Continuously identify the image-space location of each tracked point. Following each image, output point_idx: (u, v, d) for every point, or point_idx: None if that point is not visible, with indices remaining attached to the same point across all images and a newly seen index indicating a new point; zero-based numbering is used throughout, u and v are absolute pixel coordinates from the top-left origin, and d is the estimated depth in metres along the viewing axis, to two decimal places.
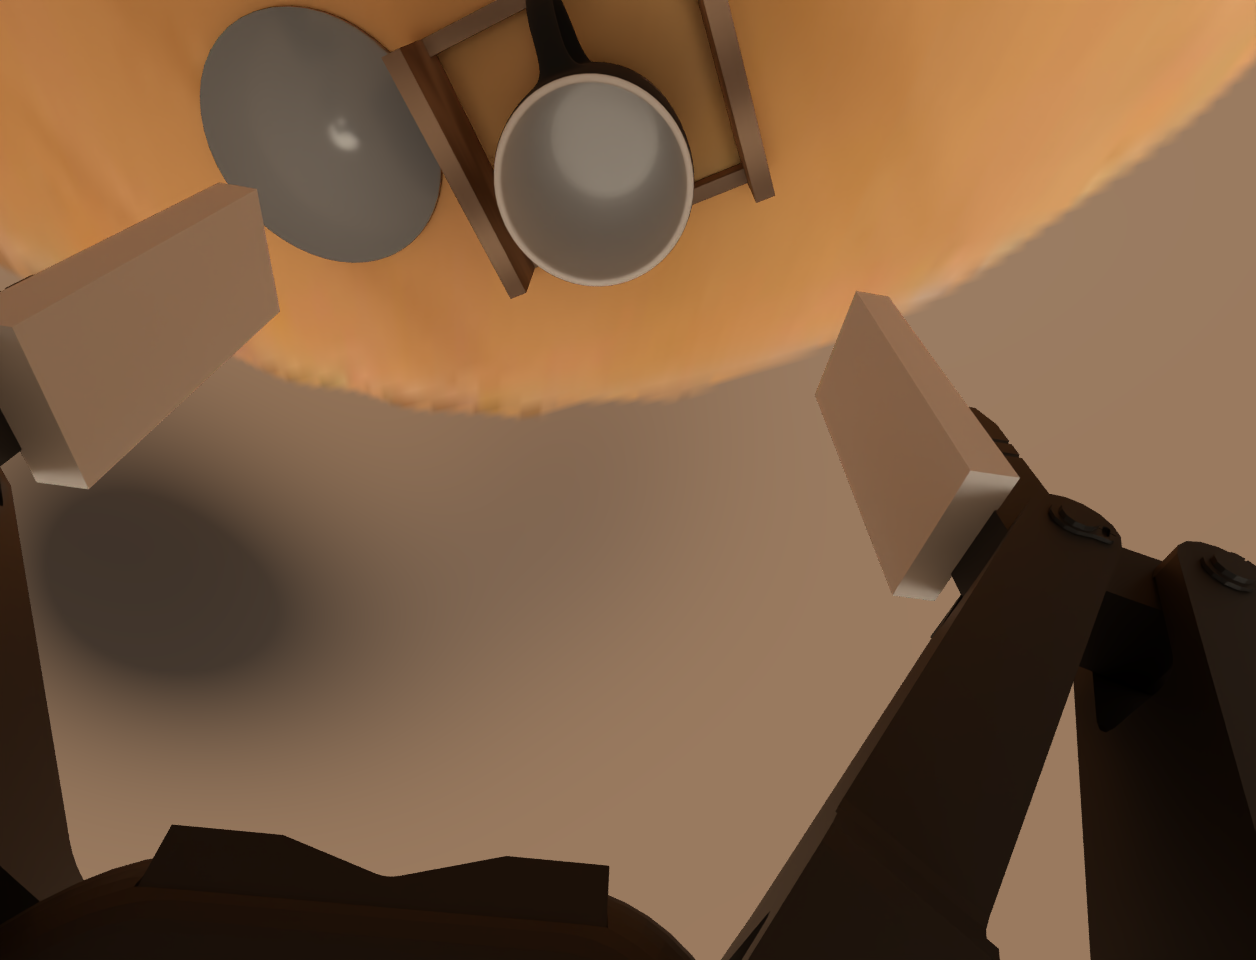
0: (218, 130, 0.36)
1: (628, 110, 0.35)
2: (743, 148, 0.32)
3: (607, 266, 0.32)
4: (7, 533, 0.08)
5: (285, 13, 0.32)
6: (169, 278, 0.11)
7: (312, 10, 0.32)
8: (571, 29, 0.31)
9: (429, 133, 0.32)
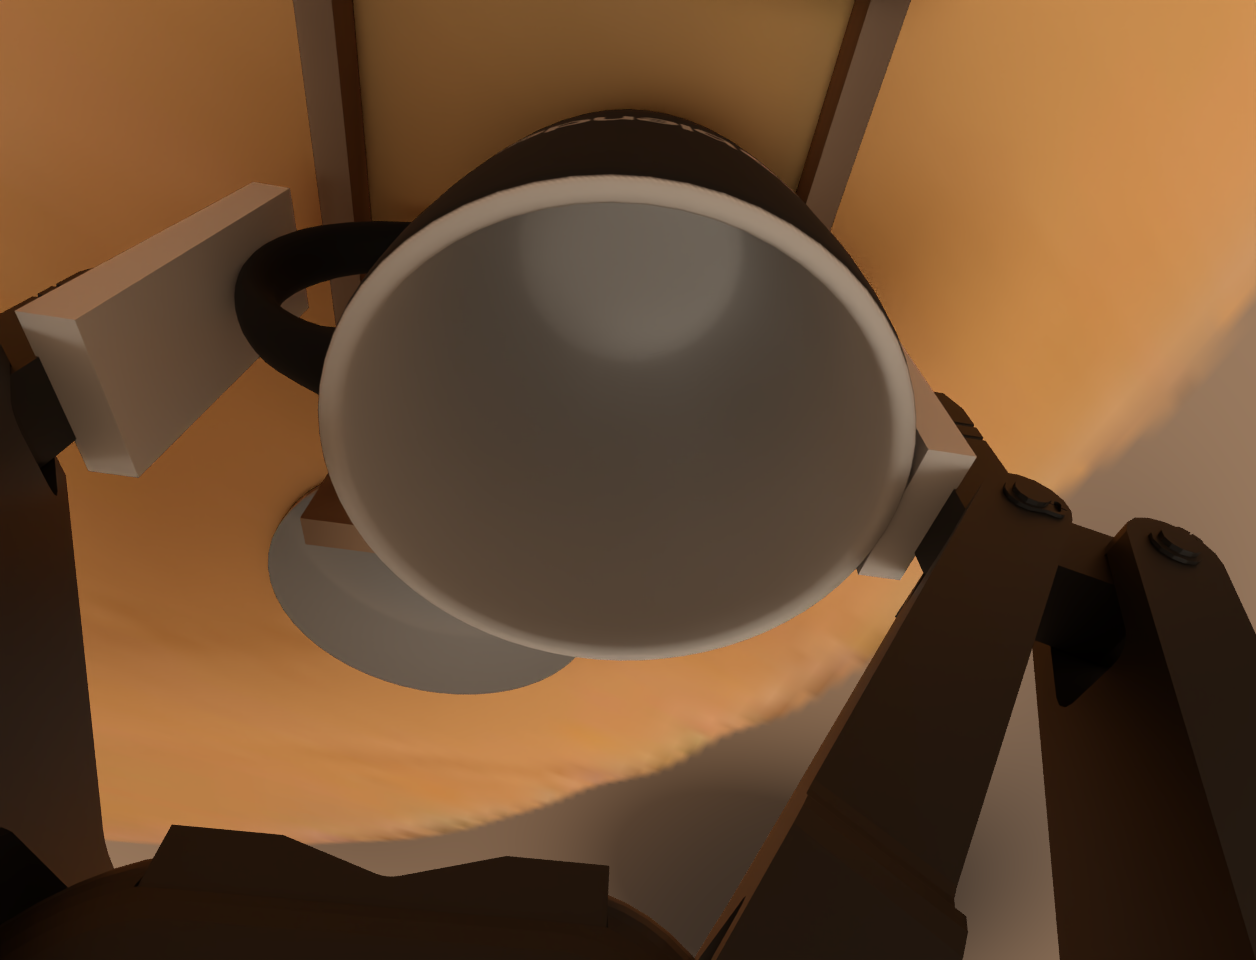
0: (372, 665, 0.29)
1: None
2: None
3: (816, 502, 0.12)
4: (59, 522, 0.08)
5: (278, 544, 0.24)
6: (211, 274, 0.11)
7: (285, 517, 0.24)
8: (396, 228, 0.15)
9: None
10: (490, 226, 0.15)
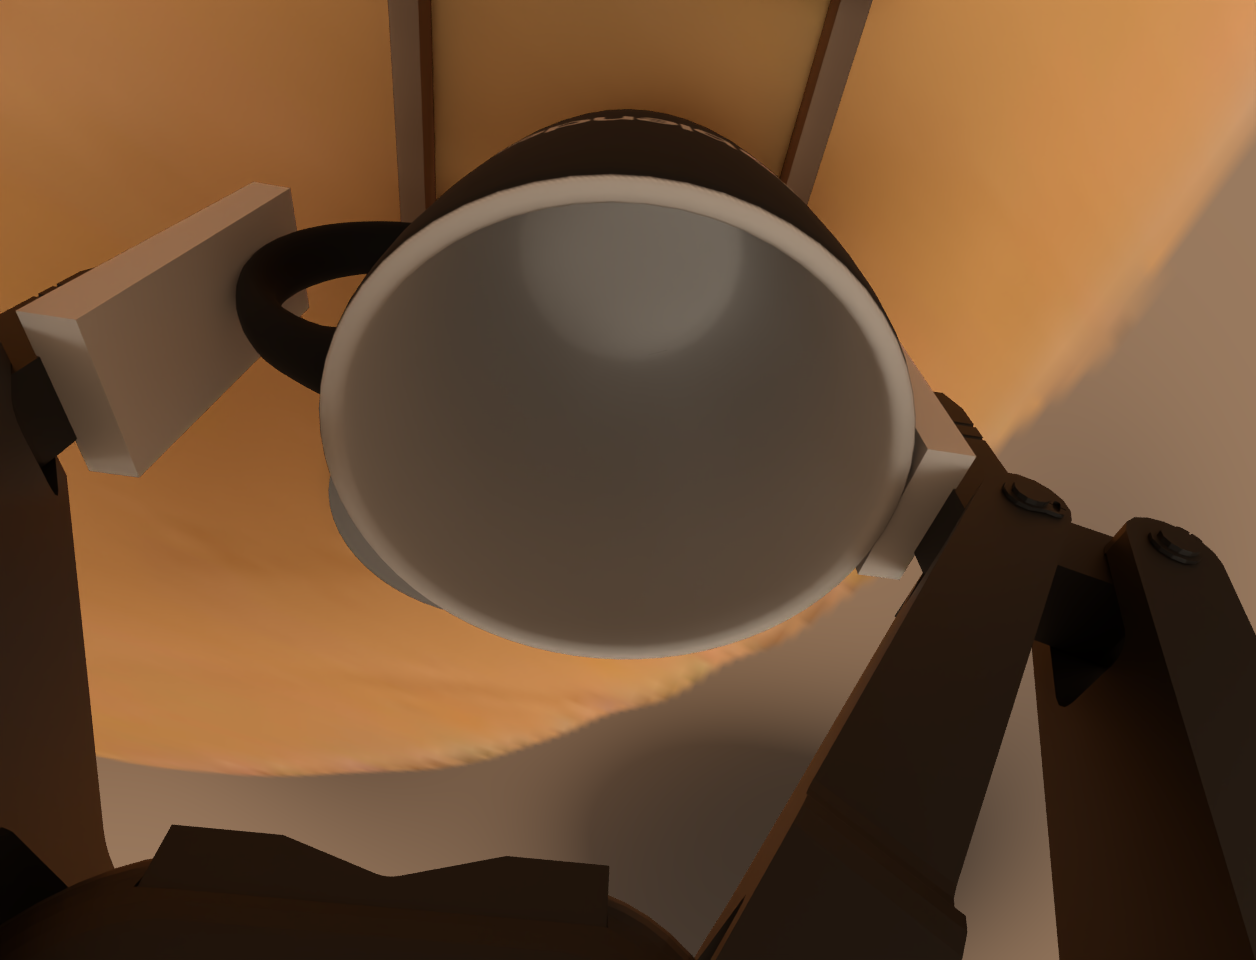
0: None
1: None
2: None
3: (816, 501, 0.12)
4: (60, 522, 0.08)
5: None
6: (211, 274, 0.11)
7: None
8: (397, 228, 0.15)
9: None
10: (490, 226, 0.15)
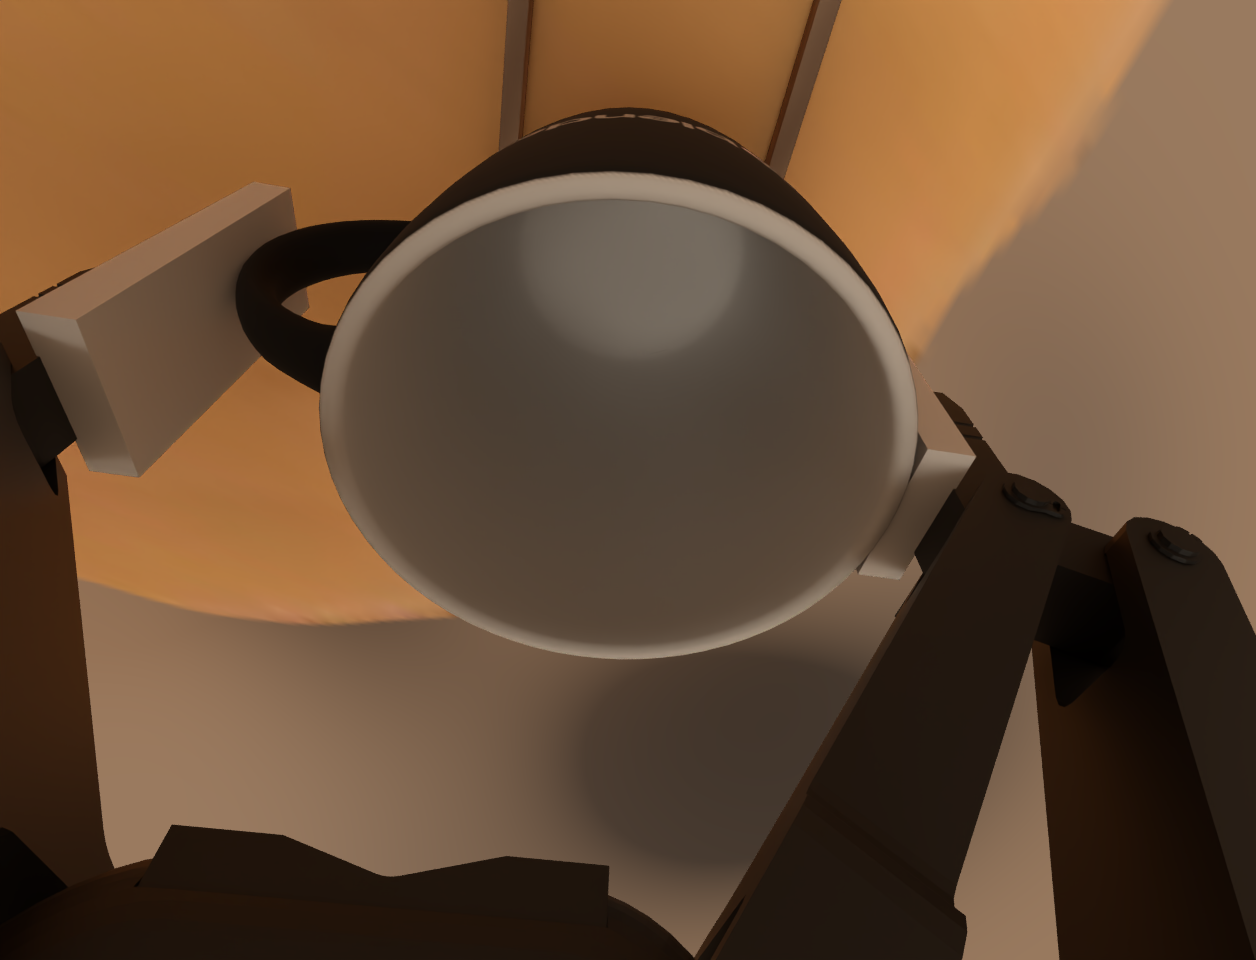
0: None
1: None
2: None
3: (818, 501, 0.12)
4: (60, 522, 0.08)
5: None
6: (211, 274, 0.11)
7: None
8: (397, 226, 0.15)
9: None
10: (491, 225, 0.15)
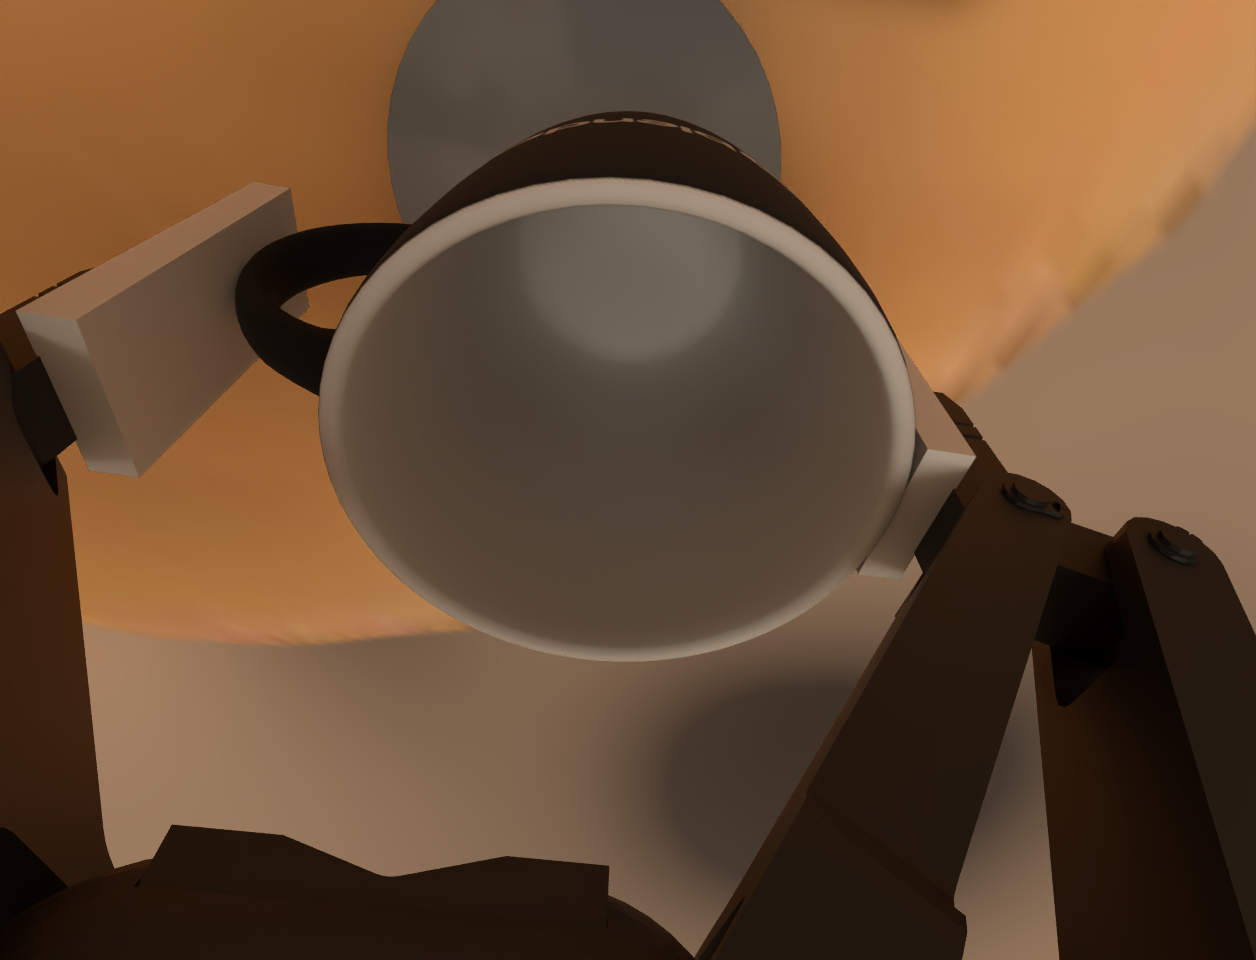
0: None
1: None
2: None
3: (816, 503, 0.12)
4: (60, 522, 0.08)
5: (405, 78, 0.20)
6: (212, 274, 0.11)
7: (418, 29, 0.19)
8: (396, 229, 0.15)
9: None
10: (490, 228, 0.15)
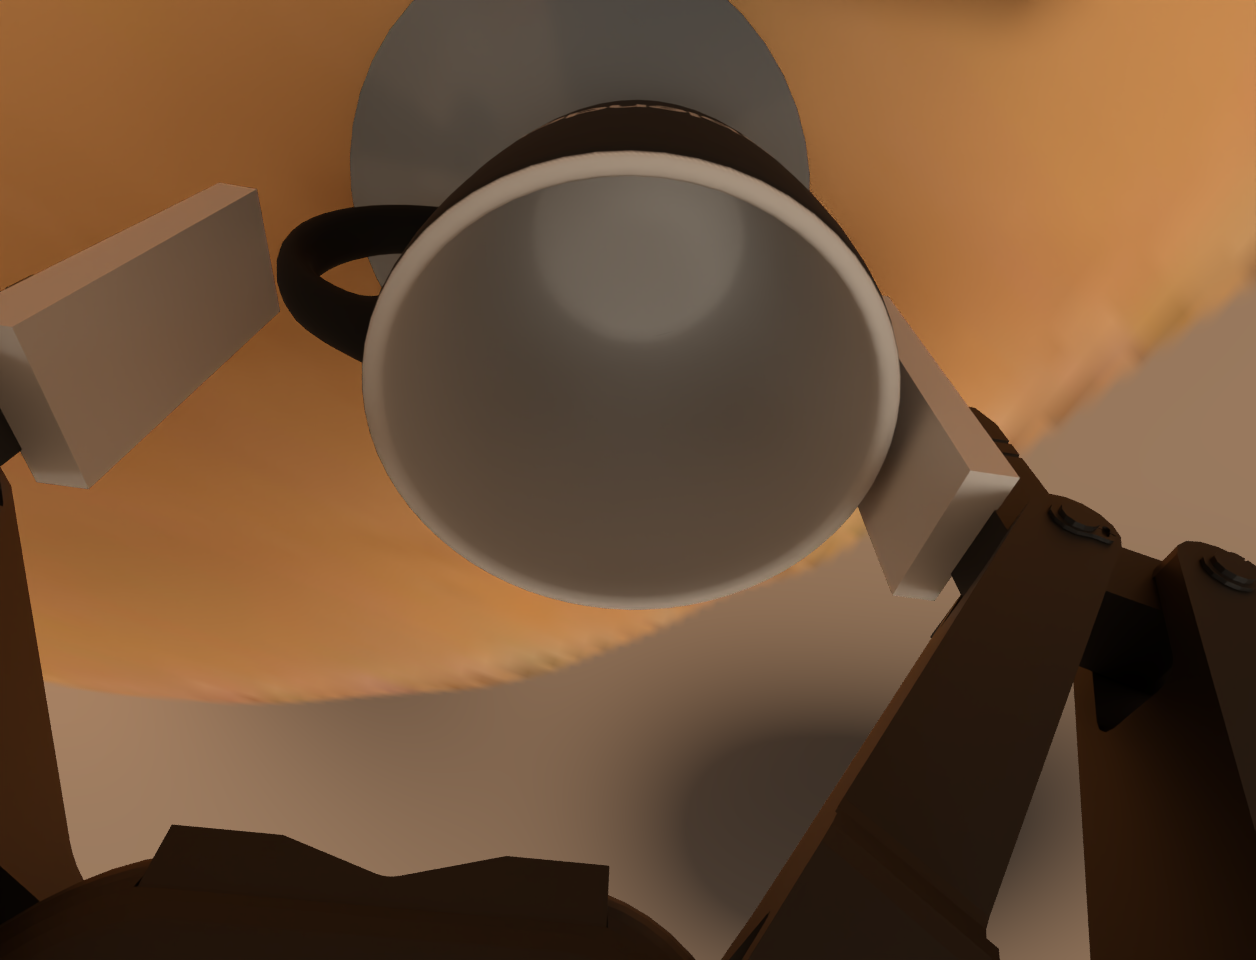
0: None
1: None
2: None
3: (811, 463, 0.13)
4: (7, 533, 0.08)
5: (369, 103, 0.17)
6: (169, 278, 0.11)
7: (382, 46, 0.16)
8: (420, 211, 0.16)
9: None
10: (507, 210, 0.16)
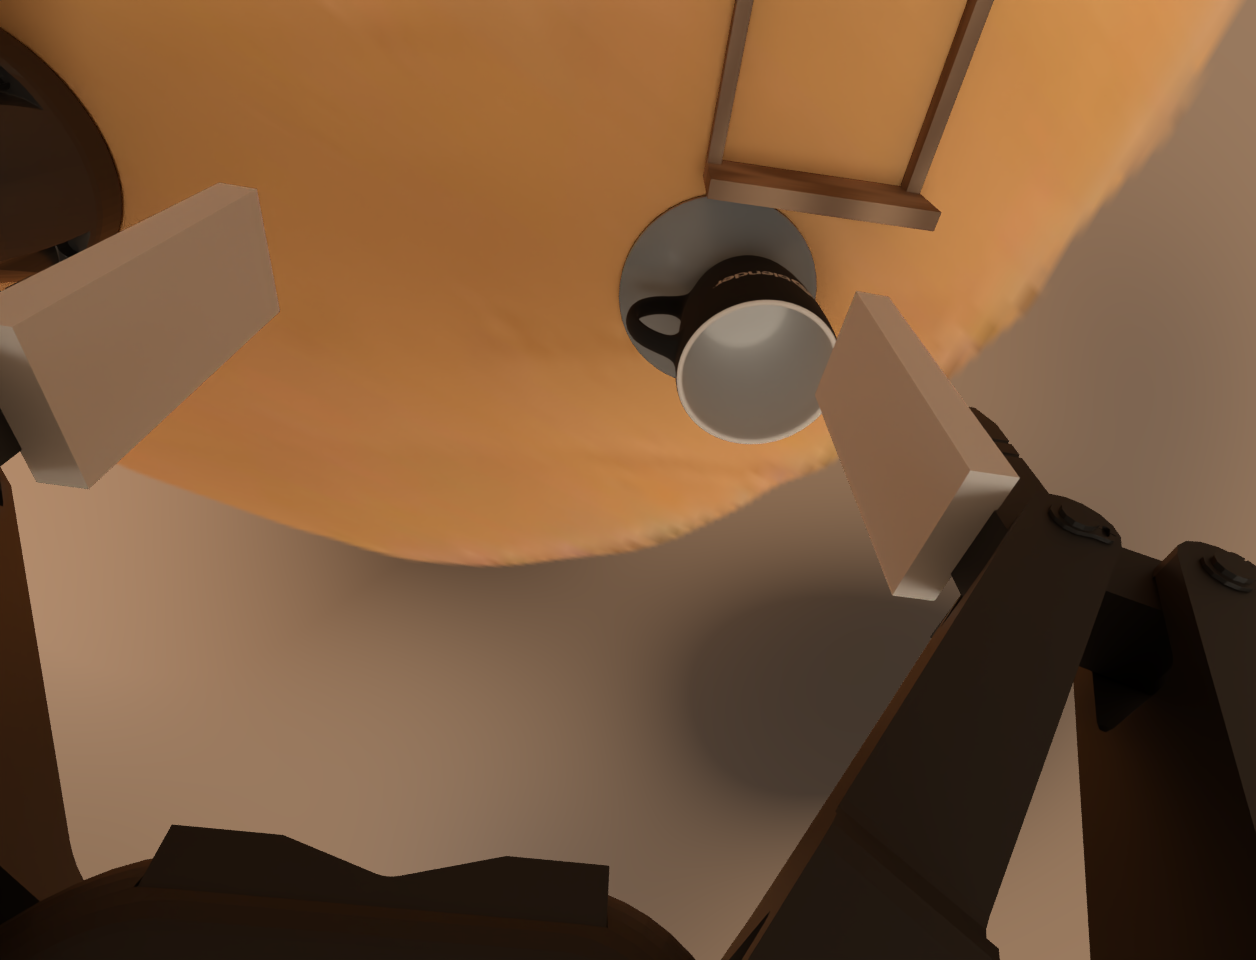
0: (661, 358, 0.46)
1: None
2: None
3: None
4: (7, 533, 0.08)
5: (634, 253, 0.41)
6: (169, 278, 0.11)
7: (643, 233, 0.41)
8: (662, 298, 0.40)
9: (772, 200, 0.35)
10: None
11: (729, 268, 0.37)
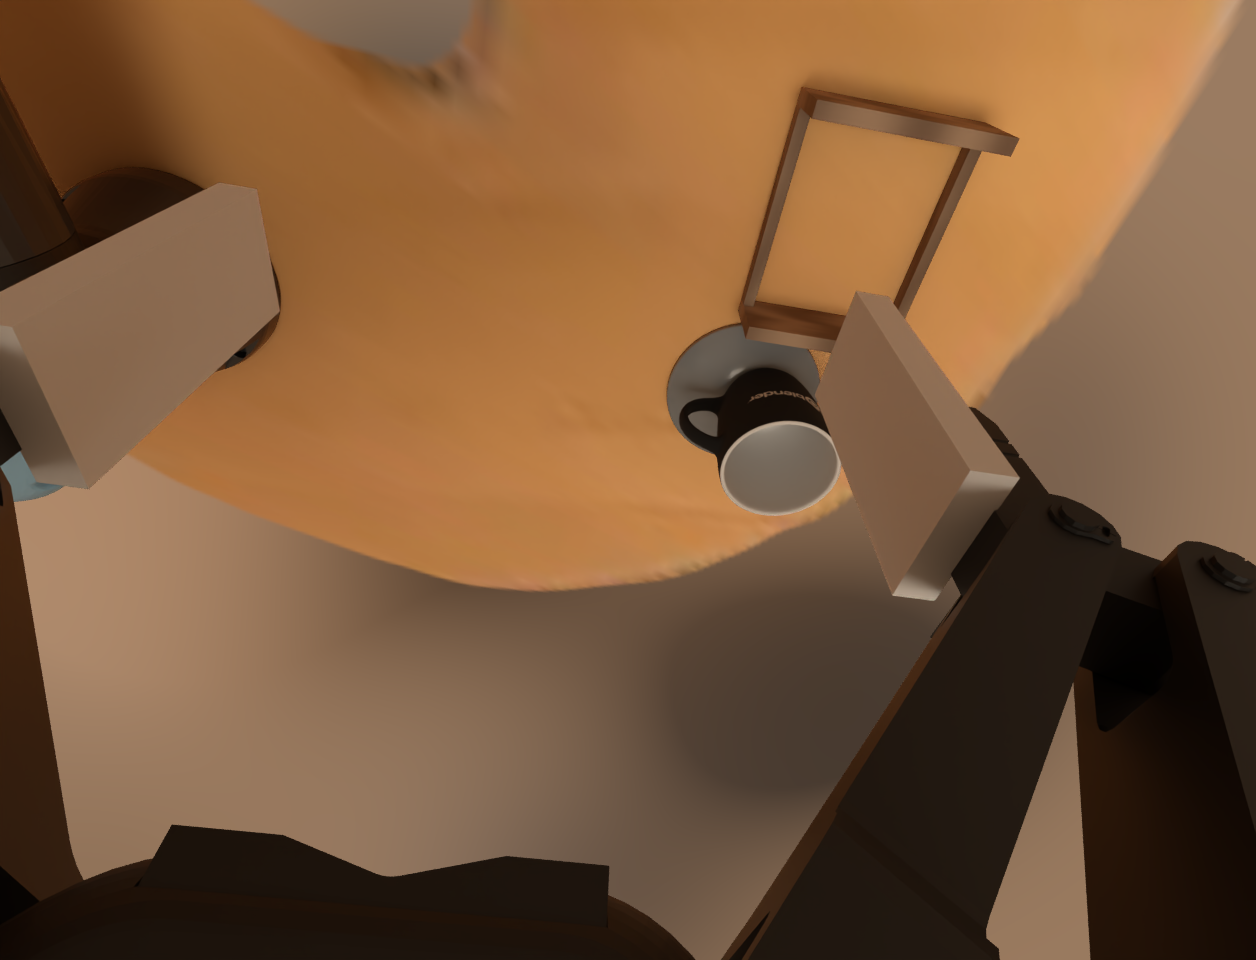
0: None
1: None
2: (968, 147, 0.39)
3: (821, 476, 0.50)
4: (7, 533, 0.08)
5: (682, 362, 0.54)
6: (169, 278, 0.11)
7: (690, 348, 0.53)
8: (704, 400, 0.52)
9: (793, 342, 0.47)
10: None
11: (758, 384, 0.50)
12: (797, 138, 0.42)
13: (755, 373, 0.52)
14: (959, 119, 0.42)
